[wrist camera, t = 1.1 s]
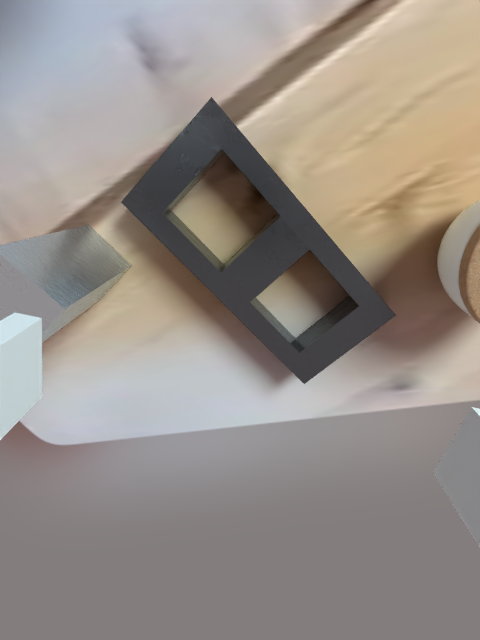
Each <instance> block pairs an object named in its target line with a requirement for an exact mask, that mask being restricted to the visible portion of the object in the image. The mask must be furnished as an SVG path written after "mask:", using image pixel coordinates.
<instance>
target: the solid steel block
mask: <svg viewBox="0 0 480 640" xmlns="http://www.w3.org/2000/svg"><path fill="white" fill-rule="evenodd" d="M131 266H132V265H131V264H129V263H128V262H127V261H126V260H125V259H124V258H123V257H122V256H121V255H120V254H119V253H118V252H117V251H116V250H115V249H114V248H113V247H111V246H110V245H109V244H108V243H107V242H106V241H105V240H104V239H103V238H102V237H101V236H100V235H99V234H98V233H97V232H96V231H95V230H93V229H92V228H91V227H90V226H89V225H85V226H81V227H77V228H72V229H68V230H64V231H59V232H55V233H51V234H46V235H42V236H38V237H33V238H29V239H25V240H20V241H16V242H12V243H7V244H3V245H0V321H1V320H3V319H4V318H6V317H8V316H10V315H11V314H13V313H20V314H25V315H29V316H34V317H39V318H42V342H43V341H45V340H46V339H48V338H49V337H50V336H52V335H53V334H54V333H56V332H57V331H58V330H60V329H61V328H62V327H64V326H65V325H67V324H68V323H69V322H71V321H72V320H73V319H75V318H76V317H77V316H79V315H80V314H81V313H83V312H84V311H86V310H87V309H88V308H90V307H91V306H92V305H94V304H95V303H96V302H98V301H99V300H100V299H101V298H102V297H103V296H104V295H105V294H106V292H107V291H108V290H109V289H110V288H111V287H112V286H113V285H114V284H115V283H116V282H117V281H118V280H119V279H120V278H121V277H122V275H123V274H124V273H125V272H126V271H127V270H128V269H129V268H130V267H131Z"/></svg>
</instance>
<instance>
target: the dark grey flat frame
mask: <svg viewBox="0 0 480 640" xmlns="http://www.w3.org/2000/svg"><path fill="white" fill-rule="evenodd" d="M224 153H226V154H227V155H228V157H229V158H230V159H231V160H232V161H233V162H234V163H235V165H236V166H237V167H238V168H239V169H240V170H241V172H242V173H243V174H244V175H245V176H246V177H247V178H248V180H249V181H250V182H251V183H252V184H253V185H254V186H255V188H256V189H257V190H258V191H259V192H260V193H261V194H262V196H263V197H264V198H265V199H266V200H267V201H268V202H269V204H270V205H271V206H272V207H273V208H274V209H275V210H276V212H277V213H278V214H277V215H276V216H275V217H274V218H273V219H272V220H271V221H270V222H269V223H267V224H266V225H265V226H264V227H263V228H262V229H261V230H260V231H259V232H258V233H257V234H256V235H255V236H254V237H253V238H252V239H251V240H250V241H249V242H248V243H246V244H245V245H244V246H243V247H242V248H241V249H240V250H239V251H238V252H237V253H236V254H235V255H234V256H233V257H232V258H231V259H230V260H229V261H228V262H227V263H225V264H223V263H222V262H221V261H220V260H219V259H218V258H217V257H216V256H215V255H214V254H213V253H212V252H211V251H210V250H209V249H208V248H207V247H206V246H205V245H204V244H203V243H202V242H201V241H200V240H199V239H198V238H197V237H196V236H195V234H194V233H193V232H192V231H191V230H190V229H189V228H188V227H187V226H186V225H185V224H184V223H183V222H182V221H181V220H180V219H179V218H178V217H177V216H176V215H175V214H174V213H173V212H172V211H171V210H172V209H173V208H174V207H175V206H176V205H177V203H178V202H179V201H180V200H181V199H182V198H183V197H184V196H185V195H186V194H187V193H188V192H189V191H190V189H191V188H192V187H193V186H194V185H195V184H196V183H197V182H198V181H199V180H200V179H201V178H202V177H203V175H204V174H205V173H206V172H207V171H208V170H209V169H210V168H211V167H212V166H213V165H214V164H215V162H216V161H217V160H218V159H219V158H220V157H221V156H222V155H223V154H224ZM121 203H122V204H123V205H124V206H126V207H127V208H128V209H129V210H130V211H131V212H132V213H133V214H134V215H135V216H136V217H137V218H138V219H139V220H140V221H141V222H142V223H143V224H144V225H145V226H146V227H147V228H148V229H149V230H150V231H151V232H152V233H153V234H154V235H155V236H156V237H157V238H158V239H159V240H160V241H161V242H162V243H163V244H164V245H165V246H166V247H167V248H168V249H169V250H170V251H171V252H172V253H173V254H174V255H175V256H176V257H177V258H178V259H179V260H180V261H181V262H182V263H183V264H184V265H185V266H186V267H187V268H188V269H189V270H190V271H191V272H192V273H193V274H194V275H195V276H196V277H197V278H198V279H199V280H200V281H201V282H202V283H203V284H204V285H205V286H206V287H207V288H208V289H209V290H210V291H211V292H212V293H213V294H214V295H215V296H216V297H217V298H218V299H219V300H220V301H221V302H222V303H223V304H224V305H225V306H226V307H227V308H228V309H229V310H230V311H231V312H232V313H233V314H234V315H235V316H236V317H237V318H238V319H239V320H240V321H241V322H242V323H243V324H244V325H245V326H246V327H247V328H248V329H249V330H250V331H251V332H252V333H253V334H254V335H255V336H256V337H257V338H258V339H259V340H260V341H261V342H262V343H263V344H264V345H265V346H266V347H267V348H268V349H269V350H271V351H272V352H273V353H274V354H275V355H276V356H277V357H278V358H279V359H280V360H281V361H282V362H283V363H284V364H285V365H286V366H287V367H288V368H289V369H290V370H291V371H292V372H293V373H294V374H295V375H296V376H297V377H298V378H299V379H300V380H301V381H302V382H303V383H304V384H305V383H306V382H307V381H309V380H310V379H311V378H313V377H314V376H315V375H317V374H318V373H319V372H321V371H322V370H324V369H325V368H326V367H328V366H329V365H330V364H332V363H333V362H334V361H336V360H337V359H338V358H340V357H341V356H342V355H344V354H345V353H346V352H348V351H349V350H350V349H352V348H353V347H354V346H356V345H357V344H358V343H360V342H361V341H362V340H364V339H365V338H366V337H368V336H369V335H370V334H372V333H373V332H374V331H376V330H377V329H378V328H380V327H381V326H382V325H384V324H385V323H386V322H388V321H389V320H390V319H392V318H393V317H394V316H396V315H395V314H394V313H393V311H392V310H391V309H390V308H389V307H388V306H387V304H386V303H385V302H384V301H383V300H382V298H381V297H380V296H379V295H378V294H377V293H376V291H375V290H374V289H373V288H372V287H371V285H370V284H369V283H368V282H367V281H366V280H365V278H364V277H363V276H362V275H361V274H360V272H359V271H358V270H357V269H356V268H355V266H354V265H353V264H352V263H351V262H350V261H349V259H348V258H347V257H346V256H345V255H344V253H343V252H342V251H341V250H340V249H339V248H338V246H337V245H336V244H335V243H334V242H333V240H332V239H331V238H330V237H329V236H328V235H327V233H326V232H325V231H324V230H323V229H322V227H321V226H320V225H319V224H318V223H317V222H316V220H315V219H314V218H313V217H312V216H311V214H310V213H309V212H308V211H307V210H306V209H305V207H304V206H303V205H302V204H301V203H300V201H299V200H298V199H297V198H296V197H295V195H294V194H293V193H292V192H291V191H290V190H289V188H288V187H287V186H286V185H285V184H284V182H283V181H282V180H281V179H280V178H279V177H278V175H277V174H276V173H275V172H274V171H273V169H272V168H271V167H270V166H269V165H268V164H267V162H266V161H265V160H264V159H263V158H262V156H261V155H260V154H259V153H258V152H257V151H256V149H255V148H254V147H253V146H252V145H251V143H250V142H249V141H248V140H247V139H246V138H245V136H244V135H243V134H242V133H241V132H240V130H239V129H238V128H237V127H236V126H235V124H234V123H233V122H232V121H231V120H230V119H229V117H228V116H227V115H226V114H225V113H224V111H223V110H222V109H221V108H220V107H219V106H218V104H217V103H216V102H215V101H214V100H213V98H212V97H211V99H210V100H209V101H208V102H207V103H206V104H205V106H204V107H203V108H202V109H201V110H200V111H199V113H198V114H197V115H196V116H195V117H194V118H193V119H192V121H191V122H190V123H189V124H188V125H187V126H186V128H185V129H184V130H183V131H182V132H181V133H180V135H179V136H178V137H177V138H176V139H175V140H174V141H173V143H172V144H171V145H170V146H169V147H168V148H167V150H166V151H165V152H164V153H163V154H162V155H161V157H160V158H159V159H158V160H157V161H156V162H155V164H154V165H153V166H152V167H151V168H150V169H149V170H148V172H147V173H146V174H145V175H144V176H143V177H142V179H141V180H140V181H139V182H138V183H137V184H136V186H135V187H134V188H133V189H132V190H131V191H130V192H129V194H128V195H127V196H126V197H125V198H124V199H123V201H122V202H121ZM308 250H311V252H312V253H313V254H314V255H315V256H316V257H317V258H318V260H319V261H320V262H321V263H322V264H323V265H324V266H325V268H326V269H327V270H328V271H329V272H330V273H331V274H332V276H333V277H334V278H335V279H336V280H337V281H338V283H339V284H340V285H341V286H342V287H343V288H344V289H345V291H346V292H347V293H348V294H349V295H350V296H349V297H347V298H346V299H345V300H344V301H342V302H341V303H340V304H339V305H337V306H336V307H335V308H334V309H333V310H331V311H330V312H329V313H328V314H326V315H325V316H324V317H323V318H321V319H320V320H319V321H318V322H316V323H315V324H314V325H313V326H311V327H310V328H309V329H308V330H306V331H305V332H304V333H303V334H301V335H300V336H299V337H298V338H296V339H295V338H294V337H293V336H292V335H291V334H290V333H289V331H288V330H287V329H286V328H285V327H284V326H283V325H282V324H281V323H280V322H279V321H278V320H277V319H276V318H275V317H274V316H273V315H272V314H271V313H270V312H269V311H268V310H267V309H266V308H265V307H264V306H263V305H262V304H261V303H260V302H259V301H258V299H257V298H256V296H258V295H259V294H260V293H261V292H262V291H263V290H264V289H265V288H267V287H268V286H269V285H270V284H271V283H272V282H273V281H275V280H276V279H277V278H278V277H279V276H280V275H281V274H282V273H284V272H285V271H286V270H287V269H288V268H289V267H290V266H291V265H293V264H294V263H295V262H296V261H297V260H298V259H299V258H301V257H302V256H303V255H304V254H305V253H306V252H307V251H308Z"/></svg>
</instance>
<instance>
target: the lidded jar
mask: <svg viewBox="0 0 480 640" xmlns="http://www.w3.org/2000/svg"><path fill="white" fill-rule="evenodd" d="M437 267H438V272H439V277H440V280H441V283H442V285H443V287H444V289H445V291H446V292H447V294H448V295H449V297H450V298H451V299H452V300H453V301H454V302H455V303H456V304H457V305H458V306H459V307H460V308H461V309H462V310H463V311H464V312H466V313H467V314H469V315H470V316H471V317H473V318H474V319H475V320H476V321H477V322H479V323H480V199H479V200H477V201H476V202H474V203H473V204H471V205H470V206H469V207H467V208H466V209H465V210H464V211H462V212H461V213H460V214H459V215H458V216H457V217H456V219H455V220H454V221H453V222H452V223H451V225H450V226H449V228H448V229H447V231H446V233H445V235H444V237H443V239H442V241H441V244H440V247H439V252H438V258H437Z"/></svg>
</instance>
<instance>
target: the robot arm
mask: <svg viewBox="0 0 480 640" xmlns="http://www.w3.org/2000/svg"><path fill="white" fill-rule="evenodd" d="M41 397H42V318H39V317H34V316H29V315H25V314H20V313H13V314H11V315H10V316H8V317H6V318H4V319H3V320H1V321H0V440H1V439H2V438H3V437H4V436H5V435H6V434H7V433H8V431H10V429H11V428H12V427H13V426H14V425H15V424H16V423H17V422H18V421H19V420H20V419H21V418H22V417H23V416H24V415H25V414H26V413H27V412H28V411H29V410H30V409H31V408H32V407H33V406H34V405H35V403H36V402H37V401H38V400H39V399H40V398H41ZM433 473H434V475H435V476H436V478H437V480H438V481H439V483H440V485H441V486H442V488H443V489H444V491H445V492H446V494H447V496H448V498H449V499H450V501H451V502H452V504H453V506H454V507H455V509H456V511H457V512H458V514H459V515H460V517H461V519H462V520H463V522H464V523H465V525H466V527H467V528H468V530H469V531H470V533H471V535H472V536H473V538H474V540H475V541H476V543H477V544H478V546H479V548H480V409H478V408H473V407H471V409H470V411H469V412H468V414H467V416H466V417H465V419H464V421H463V423H462V424H461V426H460V428H459V429H458V431H457V433H456V434H455V436H454V438H453V440H452V441H451V443H450V445H449V447H448V448H447V450H446V452H445V453H444V455H443V457H442V459H441V460H440V462H439V464H438V465H437V467H436V469H435V470H434V472H433Z"/></svg>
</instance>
